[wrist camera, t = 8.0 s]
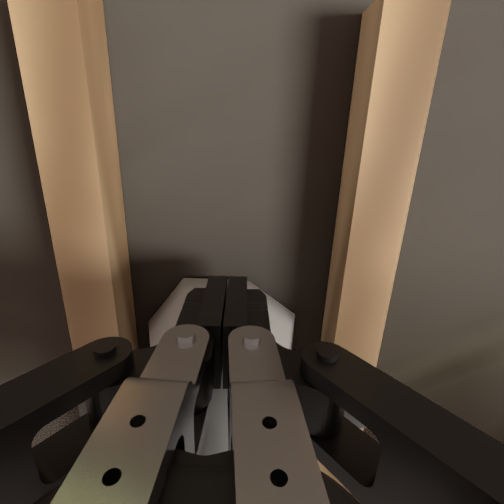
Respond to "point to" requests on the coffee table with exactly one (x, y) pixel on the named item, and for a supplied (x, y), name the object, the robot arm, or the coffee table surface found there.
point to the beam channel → (109, 177)
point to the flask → (217, 418)
